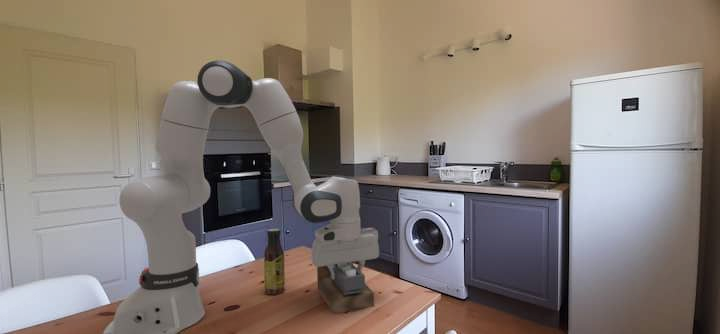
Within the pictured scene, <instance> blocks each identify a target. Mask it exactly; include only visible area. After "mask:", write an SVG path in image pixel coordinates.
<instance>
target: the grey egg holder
mask: <svg viewBox="0 0 720 334" xmlns="http://www.w3.org/2000/svg"><path fill="white" fill-rule="evenodd" d="M357 268H358V267H356V266H355V265H354V263H353V264H352V263H351V262H348V263H341V264H334V268H332V269H333V271H336V272H337V273H338V276H337V277H338V279H332V280H333V281H334V282H335V283H336V285H337V286H338V287H339V289H340V290H341V291H342V292H343V294H344V295H347V294H353V293H358V292H364V291H365V284H366V279H365V278H366V277H365V274H364V273H363V272H361V271H359V270H358V269H357ZM330 274H331V271H330ZM331 278H332V277H331Z"/></svg>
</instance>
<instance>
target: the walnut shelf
mask: <svg viewBox="0 0 720 334" xmlns="http://www.w3.org/2000/svg"><path fill="white" fill-rule="evenodd" d="M351 263H352V264H353V265H354V262H351ZM316 271H317V272H316V273H317V275H316V276H317V277H316V280H317V290H318V292H319V293H320V295H321V297H322V298H323V300H324V302H325V303H326V305H327V306H328V308H329V310H330V311H331V313H332V314H333V315H335V314H341V313H347V312H352V311H356V310H362V309H364V308H371V307H375V301H374V299H375V298H374V295H375V293H374V291H373V290H372V289H371V288H370V287H369V286H368V285H367V284H366V283H365V291H364V292H358V293H353V294H347V295H344V294H343V292H342V291H341V290H340V289H339V287H338V286H337V285H336V283H335V282H334V281H333V280H332V278H331V274H330V270H329V268H328V267H327V266H321V267H316Z"/></svg>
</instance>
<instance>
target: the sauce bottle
mask: <svg viewBox="0 0 720 334" xmlns="http://www.w3.org/2000/svg"><path fill="white" fill-rule="evenodd" d="M266 231H267V232H266V235H267V246H266V247H265V249H264V252H263V253H264V255H263V256H264V261H263V262H264V263H263V265H264V267H263V269H264V270H263V271H264V272H263V273H264V274H263V275H264V288H265V290H264V291H265V294H268V295H279V294H280V293H283V292H284V290H285V280H286V279H285V276H286V275H285V252H284V250H283V247H282V244H281V238H280V237H281V229H280V228H270V229H267V230H266Z"/></svg>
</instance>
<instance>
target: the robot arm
mask: <svg viewBox="0 0 720 334" xmlns="http://www.w3.org/2000/svg"><path fill="white" fill-rule="evenodd" d="M243 107H245V108H247V109H248V110H249V112H250V113H251V114H252V117H253V118H254V121H255V123H256V125H257V128H258V129H259V132H260V134H261V135H262V138H263V139H264V141H265V142H266V144H267V145H268V147H269V148H270V149H271V151H272V153H274V155H275V156H276V158H277V159H278V160H279V162H280V164H281V166H282V168H283V170H284V173H285V175H286V177H287V179H288V181H289V184H290V187H291V189H292V197H291V198H292V201H291V202H292V207H293V209H294V211H295V213H297V214H298V215H299V216H301V217H302V218H303V219H305V220H306V221H307V222H309V223H313V224H320V223H325V222H327V221H330V223H328V224H326V225H324V226H322V227H320V228H318V229H316V230H315V231H314V236H315V239H314V240H313V241H312V246H311V263H312V264H313V265H314V267H315V268H317V267H321V266H327V267H328V268H329V270H330V271H331V277H332V279H338V277H337V276H338V273H337V272H336V271H333V269H332V268H334V264H341V263H348V262H353V263H354V262H358V266H357V267H356V268H357V269H358V270H359V271H361V272H362V271H363V268H364V266H365V264H366V261H367V260H369V261H370V260H374V259H377V258H379V256H380V247H379V241H378V240H379V232H378V229H376V228H375V227H367V228H366V227H364V228H362V227H361V217H360V216H361V215H360V207H361V197H360V196H361V195H360V187H359V183H358V181H357V180H356V178H354V177H350V176H345V175H340V174H339V175H338V174H337V175H336V174H334V175H332V176H331V177H330V178H329V179H328V180H326V181H324V182H323V183H321V184H319V185H316V184H315V183H314V182H313V181H312V178H311V177H310V174H309V171H308V168H307V166H306V164H305V161H304V159H303V154H302V146H303V141H304V129H303V126H302V122H301V120H300V116H299V114H298V112H297V109H296V107H295V105H294V103H293V101H292V100H291V97H290V95H289V94H288V93H287V91H286V90H285V88H284V86H283V85H282V83H281V82H280V81H279V80H277V79H275V78H272V77H271V78H270V77H265V78H260V79H257V80H253V79H252V77H251V76H249V75H248V74H247V73H246V72H245V71H244V70H243V69H241V68H240V67H238V66H236V65H235V64H233V63H231V62H228V61H226V60H219V59H218V60H213V61H209V62H207V63H206V64H204V65H203V66H202V67H201V68H200V70H199V71H198V75H197V82H196V81H192V80H181V81H178V82H175V83H174V84H173V85H172V87H171V89H170V91H169V93H168V95H167V98H166V100H165V104H164V106H163V110H162V114H161V117H160V118H161V119H160V122H159V127H158V133H157V137H156V141H155V150H156V152H157V154H158V155H159V156H160V157H161V158H162V160H163V166H164V173H163V174H162V175H153V176H146V177H142V178H140V179H137V180H134V181H131V182H129V183H128V184H126V185H124V187H123V188H122V189H121V191H120V195H119V202H118V203H119V207H120V210H121V212H122V213H123V215H124V216H125V217H127V218H128V220H131V221H132V222H134V223H136V225H137V226H138V227H139V229H140V230H141V232H142V234H143V237H144V240H145V245H146V250H147V263H148V267H145V268H144V269H143V270H142V271H141V275H140V276H139V279H138V281H139V282H138V285H140V286H139V287H138V288H137V289H136V290H134V291H133V292H132V293H131V294H130V295H128V296H127V297H126V298H125V299H123V300H122V301H121V303H120V304H119V305H118V306H117V309H116V311H115V313H114V318H113V320H112V321H111V322H110V323H109V324H108V325H107V326H106V327H105V328H104V329H103V332H102V334H178V333H179V332H181V331H183V330H185V329H186V328H189V327H191V326H194V325H195V324H196V323H198V322H199V321H200V320H202V318H203V317H204V316H205V313H206V311H205V308H204V306H203V302H202V299H201V295H200V290H199V289H200V288H199V284H200V268H199V263H197V246H196V245H197V244H196V236H195V235H194V233H193V232H191V231H190V230H188V229H187V227H186V225H185V223H184V220H183V215H182V214H185V213H188V212H192V211H193V212H194V211H195V210H196V209H198V208H201V207H202V206H203V205H205V203H207V202H208V201H209V199H210V196H211V186H210V183H209V181H208V180H207V179H206V178H205V173H204V153H205V147H206V142H207V136H208V133H209V130H210V129H209V128H210V122H211V119H212V115H213V113H214V112H215V111H216V110H217V109H220V110H223V109H239V108H243ZM362 273H363V272H362Z"/></svg>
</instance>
